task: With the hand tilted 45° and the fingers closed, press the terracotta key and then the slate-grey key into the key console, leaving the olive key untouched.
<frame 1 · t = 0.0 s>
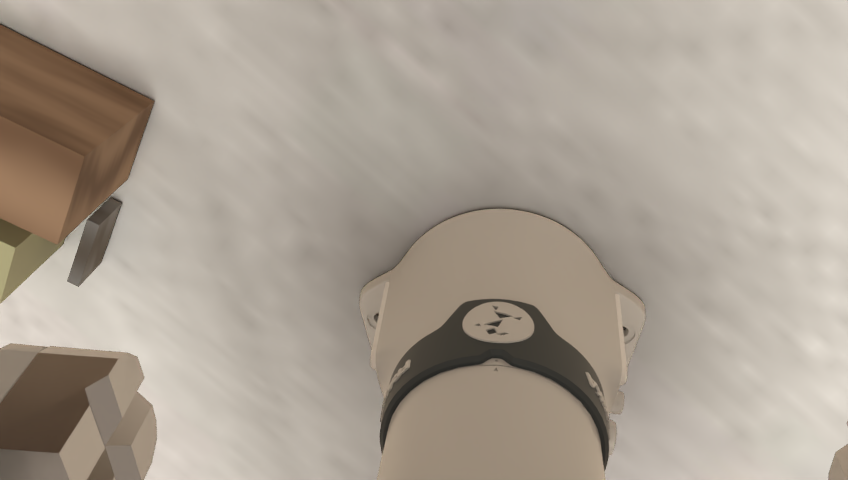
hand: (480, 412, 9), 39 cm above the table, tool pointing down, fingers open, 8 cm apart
olive key: (11, 231, 51), point 4 cm above the table, slide at 0.0 cm
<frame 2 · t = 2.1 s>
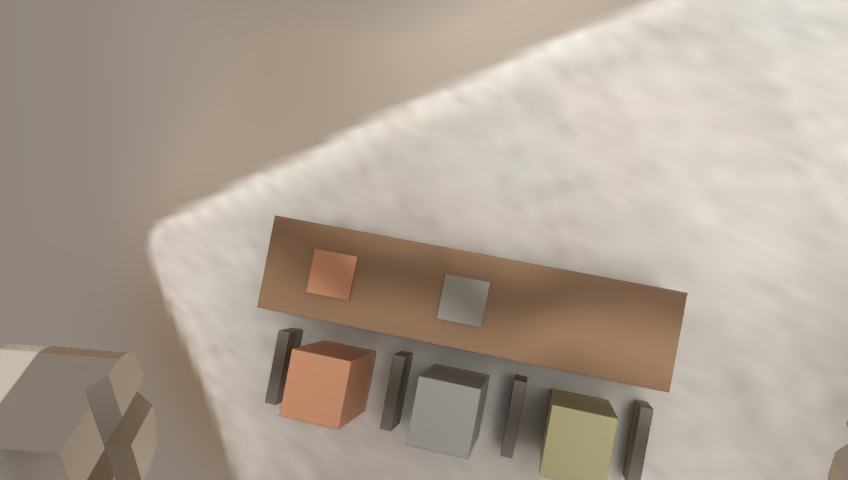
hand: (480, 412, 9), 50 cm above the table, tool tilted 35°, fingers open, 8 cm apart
slate key: (450, 408, 55), point 4 cm above the table, slide at 0.0 cm
key console: (468, 338, 59), on the table
terracotta key: (330, 381, 56), point 4 cm above the table, slide at 0.0 cm
olive key: (576, 435, 54), point 4 cm above the table, slide at 0.0 cm
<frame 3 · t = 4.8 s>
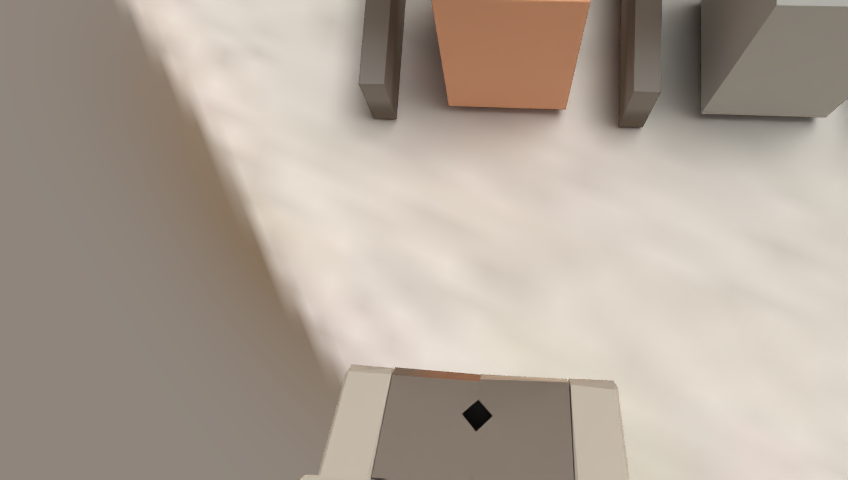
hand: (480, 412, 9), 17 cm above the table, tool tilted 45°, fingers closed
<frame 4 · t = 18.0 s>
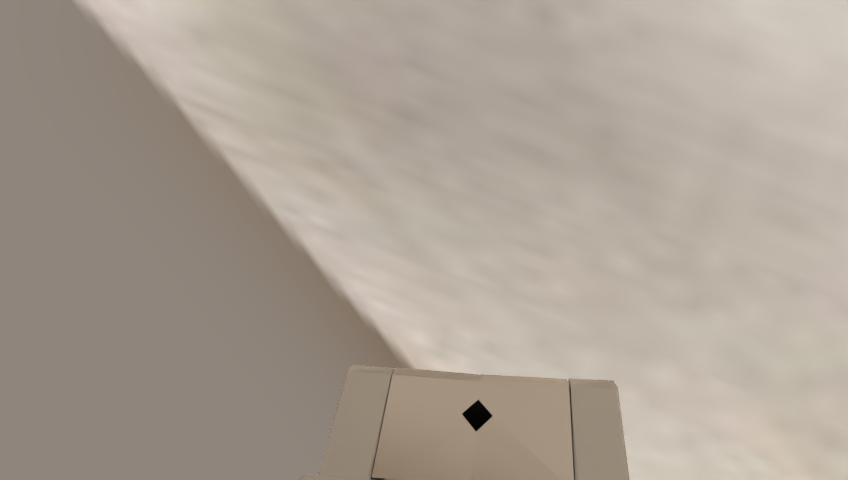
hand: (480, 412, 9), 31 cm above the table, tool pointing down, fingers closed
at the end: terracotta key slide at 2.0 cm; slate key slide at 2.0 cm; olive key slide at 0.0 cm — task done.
